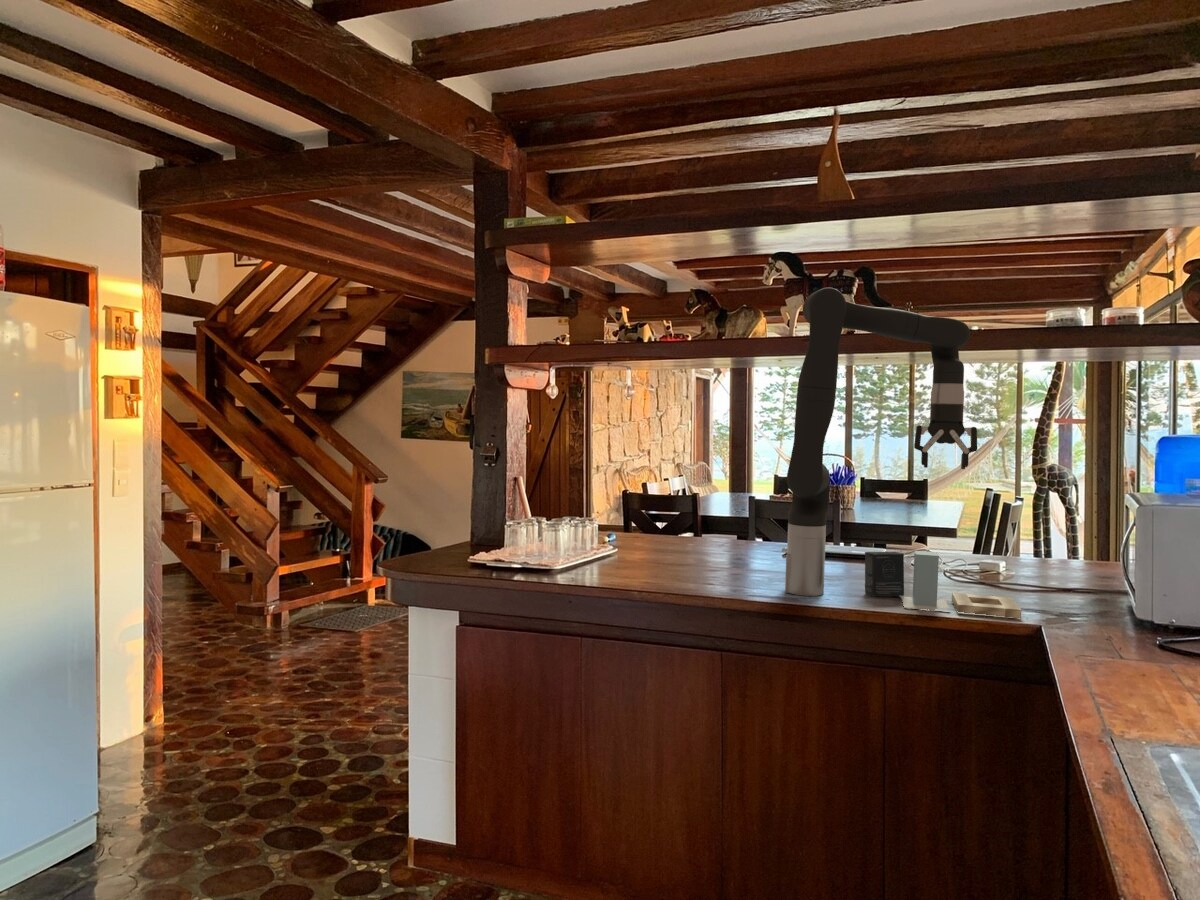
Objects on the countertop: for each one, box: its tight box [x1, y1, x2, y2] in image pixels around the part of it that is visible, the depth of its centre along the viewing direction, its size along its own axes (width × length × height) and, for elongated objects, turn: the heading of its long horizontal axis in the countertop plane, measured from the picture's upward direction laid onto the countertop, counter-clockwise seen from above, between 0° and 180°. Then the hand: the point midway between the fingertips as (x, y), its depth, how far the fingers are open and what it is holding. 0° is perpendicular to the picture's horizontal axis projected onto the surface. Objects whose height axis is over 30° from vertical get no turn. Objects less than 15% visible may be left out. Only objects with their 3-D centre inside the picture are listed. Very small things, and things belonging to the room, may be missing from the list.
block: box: [912, 550, 940, 607], centre depth 196 cm, size 5×5×12 cm
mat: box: [900, 596, 950, 610], centre depth 196 cm, size 10×12×1 cm
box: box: [864, 551, 905, 597], centre depth 205 cm, size 8×6×11 cm
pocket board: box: [951, 592, 1022, 620], centre depth 192 cm, size 13×13×2 cm
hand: (944, 468), depth 204 cm, fingers open, 8 cm apart
